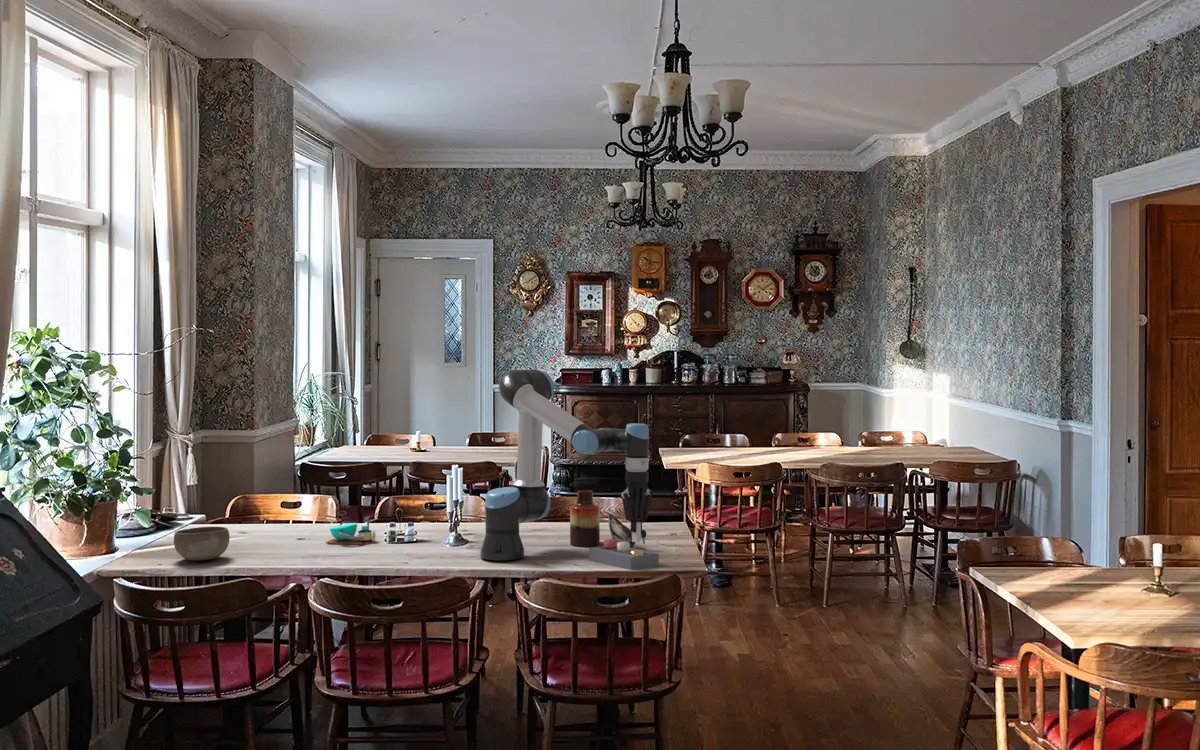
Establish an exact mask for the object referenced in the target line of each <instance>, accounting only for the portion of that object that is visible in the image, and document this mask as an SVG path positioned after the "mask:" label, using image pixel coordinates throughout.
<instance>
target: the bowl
mask: <svg viewBox="0 0 1200 750" xmlns="http://www.w3.org/2000/svg"><path fill="white" fill-rule="evenodd" d="M230 538H231V537H230V532H229V529H228V527H226V526H225V527H223V526H199V527H192V528H190V527H189V528H185V529H180V530H177V531H175V532H174V535H173V545H174V548H175V551H176V552H177V553H178V555H179V556H180V557H182V558H183V559H185V560H189V561H207V560H213V559H217V558H218V557H220V556H222V555H223V554H224V553H225V552H226V550H227V548H228V546H229V544H230Z"/></svg>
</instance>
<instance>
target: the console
mask: <svg viewBox="0 0 1200 750" xmlns="http://www.w3.org/2000/svg"><path fill="white" fill-rule="evenodd" d="M631 550H641V549H638V548H636V547H635V548H634V547H631V548H630V552H625V553H621V552H617V544H616V549H613V550H607V549H604V545H603V546H595V547H588V560H589V561H591V562H596V563H600V564H604V565H605V564H606V565H608V566H613V567H618V568H621V569H625V570H630V571H631V570H637V569H644V568H651V567H658V566H659V564H660V561H659V560H660V559H659V553H658V552H653V551H650V550H649V551H648V550H644V549H642V550H643V555H638V556H635V555H631Z"/></svg>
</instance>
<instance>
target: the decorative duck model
mask: <svg viewBox="0 0 1200 750" xmlns="http://www.w3.org/2000/svg"><path fill="white" fill-rule="evenodd" d="M607 519H608V526H609V533H610V535H611V537H612V538H611V539H615V540H616V545H617V542H629V543H630V548H634V546H635V544H636V542H632V532H631V528H629V527H627V526H626V525H624V524H623V523H622V522H621V521H620V520H619V519H618V518H617V517H616V516H615V515H614V514H610V513H609V514H608V518H607ZM646 537H647V530H645V529H642V532H641V539H642V544H643V545H646Z"/></svg>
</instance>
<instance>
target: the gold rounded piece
mask: <svg viewBox="0 0 1200 750" xmlns="http://www.w3.org/2000/svg"><path fill="white" fill-rule="evenodd" d="M643 550H644V549H640V550H631V555H635V556H638V555H643Z"/></svg>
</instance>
